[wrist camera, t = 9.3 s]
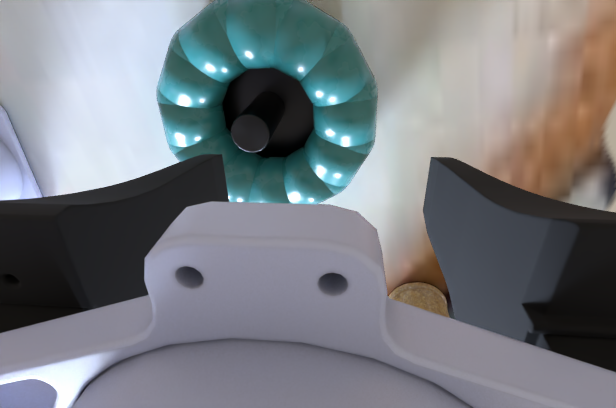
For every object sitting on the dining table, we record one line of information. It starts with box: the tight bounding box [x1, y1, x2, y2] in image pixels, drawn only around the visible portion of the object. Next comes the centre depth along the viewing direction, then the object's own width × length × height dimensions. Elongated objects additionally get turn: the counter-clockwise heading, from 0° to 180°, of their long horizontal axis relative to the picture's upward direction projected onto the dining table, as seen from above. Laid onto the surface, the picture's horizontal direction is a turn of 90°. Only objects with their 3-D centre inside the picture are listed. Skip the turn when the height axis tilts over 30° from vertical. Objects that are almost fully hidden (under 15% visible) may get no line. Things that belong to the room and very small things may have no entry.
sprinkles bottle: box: [389, 282, 450, 318], centre depth 22 cm, size 5×5×14 cm
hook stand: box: [222, 68, 314, 157], centre depth 19 cm, size 8×8×6 cm
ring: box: [157, 0, 378, 204], centre depth 19 cm, size 11×11×3 cm
